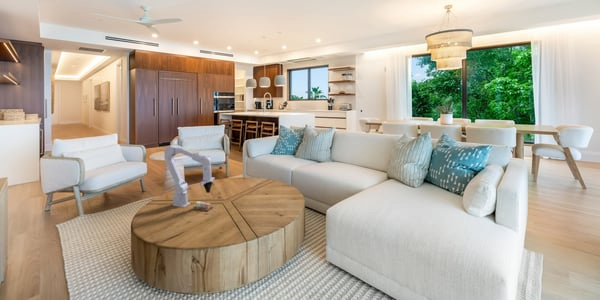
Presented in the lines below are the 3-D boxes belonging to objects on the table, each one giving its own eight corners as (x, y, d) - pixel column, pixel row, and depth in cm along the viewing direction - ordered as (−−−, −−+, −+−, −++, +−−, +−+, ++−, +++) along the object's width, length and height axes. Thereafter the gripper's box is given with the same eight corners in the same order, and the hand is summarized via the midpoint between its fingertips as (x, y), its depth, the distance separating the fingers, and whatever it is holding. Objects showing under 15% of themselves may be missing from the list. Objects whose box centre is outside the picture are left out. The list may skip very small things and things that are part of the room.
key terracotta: (204, 208, 205) (204, 204, 204) (207, 206, 208) (207, 202, 207) (208, 208, 204) (208, 204, 204) (210, 207, 207) (210, 203, 206)
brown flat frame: (193, 209, 206) (193, 207, 206) (199, 205, 212) (199, 204, 212) (207, 211, 202) (207, 209, 202) (213, 207, 209) (213, 206, 208)
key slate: (200, 207, 206) (200, 203, 206) (202, 206, 209) (202, 202, 208) (203, 207, 205) (203, 203, 205) (206, 206, 208) (206, 202, 207)
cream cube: (195, 206, 207) (195, 202, 207) (198, 205, 210) (198, 201, 209) (199, 207, 206) (199, 203, 206) (201, 205, 209) (201, 201, 208)
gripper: (205, 177, 200) (206, 196, 203) (217, 172, 214) (218, 189, 217) (197, 176, 203) (197, 195, 205) (209, 171, 216) (210, 188, 219)
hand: (207, 192), depth 211 cm, fingers closed
